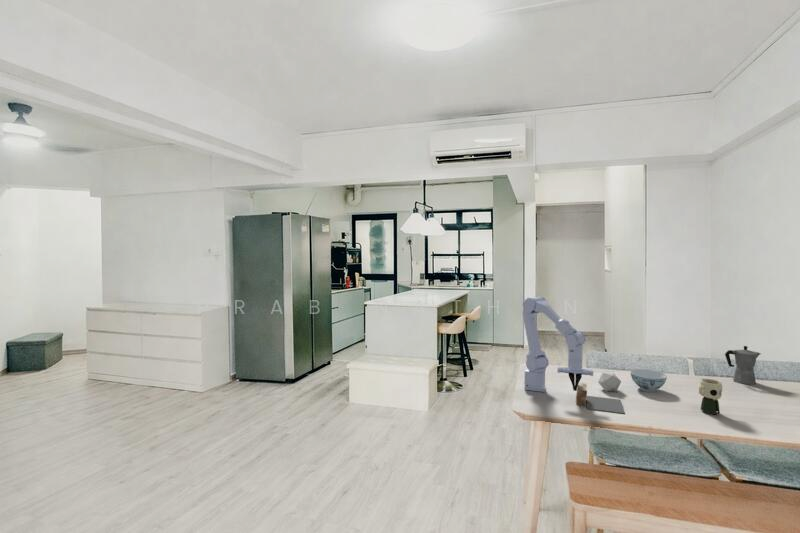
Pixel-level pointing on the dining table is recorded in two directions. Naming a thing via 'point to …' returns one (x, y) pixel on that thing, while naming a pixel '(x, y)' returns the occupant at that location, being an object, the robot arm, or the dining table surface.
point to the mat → (604, 404)
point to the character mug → (710, 395)
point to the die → (609, 381)
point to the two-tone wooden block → (581, 394)
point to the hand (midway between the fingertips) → (574, 390)
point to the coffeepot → (743, 365)
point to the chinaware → (648, 379)
